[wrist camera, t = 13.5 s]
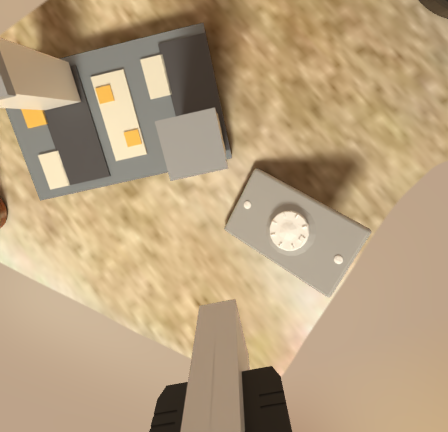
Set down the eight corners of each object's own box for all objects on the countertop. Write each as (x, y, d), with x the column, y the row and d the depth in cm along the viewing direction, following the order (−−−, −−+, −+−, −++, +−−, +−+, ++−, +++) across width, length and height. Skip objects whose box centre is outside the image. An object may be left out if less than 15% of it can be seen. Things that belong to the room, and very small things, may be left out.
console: (204, 27, 37) (202, 21, 34) (231, 156, 40) (232, 158, 38) (4, 77, 38) (-11, 74, 36) (48, 196, 42) (37, 201, 39)
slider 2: (219, 111, 37) (214, 107, 24) (227, 152, 38) (227, 168, 25) (179, 120, 37) (154, 121, 24) (189, 160, 38) (170, 180, 25)
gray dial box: (251, 166, 39) (371, 231, 34) (268, 170, 44) (374, 227, 39) (219, 230, 41) (327, 301, 36) (239, 226, 46) (335, 288, 41)
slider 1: (69, 59, 35) (-18, 26, 23) (83, 103, 36) (7, 94, 24) (29, 69, 36) (-78, 42, 23) (44, 112, 37) (-50, 109, 24)
